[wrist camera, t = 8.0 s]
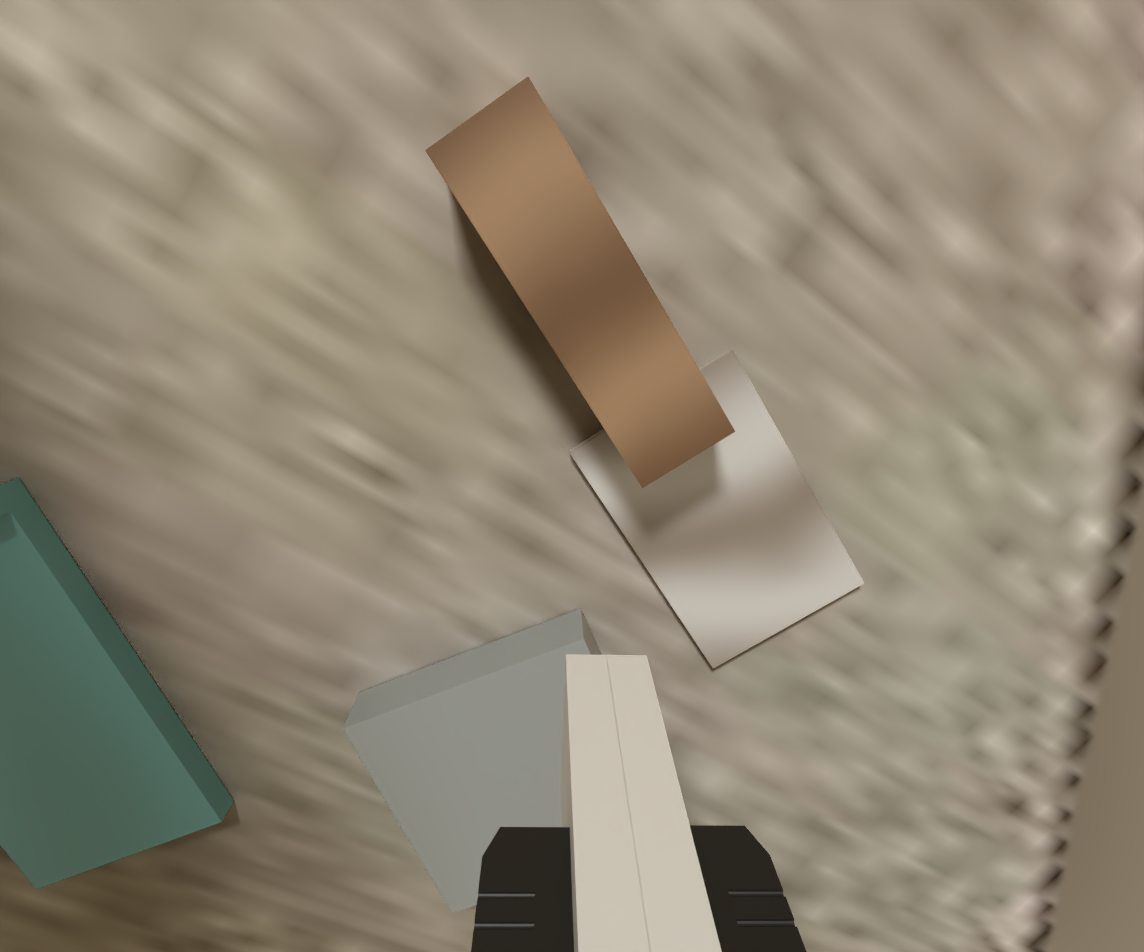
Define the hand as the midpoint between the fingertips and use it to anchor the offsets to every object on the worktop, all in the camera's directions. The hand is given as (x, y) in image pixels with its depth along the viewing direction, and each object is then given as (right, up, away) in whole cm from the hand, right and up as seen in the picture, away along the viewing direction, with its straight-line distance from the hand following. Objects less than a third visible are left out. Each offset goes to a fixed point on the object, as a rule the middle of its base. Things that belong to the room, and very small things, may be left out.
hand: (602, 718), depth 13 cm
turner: (+2, +7, +13) cm, 15 cm away
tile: (-5, -3, +14) cm, 15 cm away
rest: (-23, -4, +15) cm, 28 cm away
